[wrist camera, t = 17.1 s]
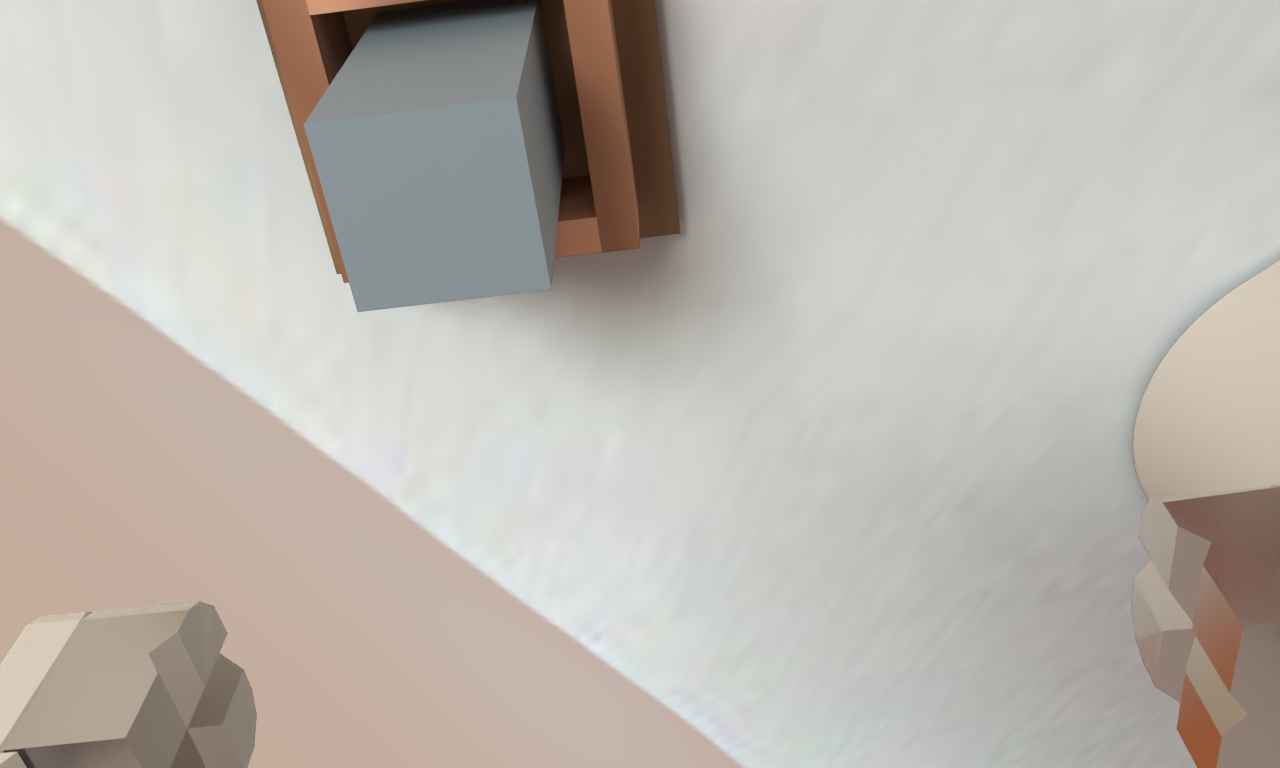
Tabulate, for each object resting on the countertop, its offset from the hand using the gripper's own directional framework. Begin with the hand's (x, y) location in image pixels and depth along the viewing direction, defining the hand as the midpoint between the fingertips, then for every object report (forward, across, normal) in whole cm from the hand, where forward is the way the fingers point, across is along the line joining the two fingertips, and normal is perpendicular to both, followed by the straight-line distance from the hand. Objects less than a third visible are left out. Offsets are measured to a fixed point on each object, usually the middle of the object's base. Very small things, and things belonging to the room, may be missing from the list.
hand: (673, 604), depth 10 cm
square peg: (+28, -6, -3) cm, 29 cm away
